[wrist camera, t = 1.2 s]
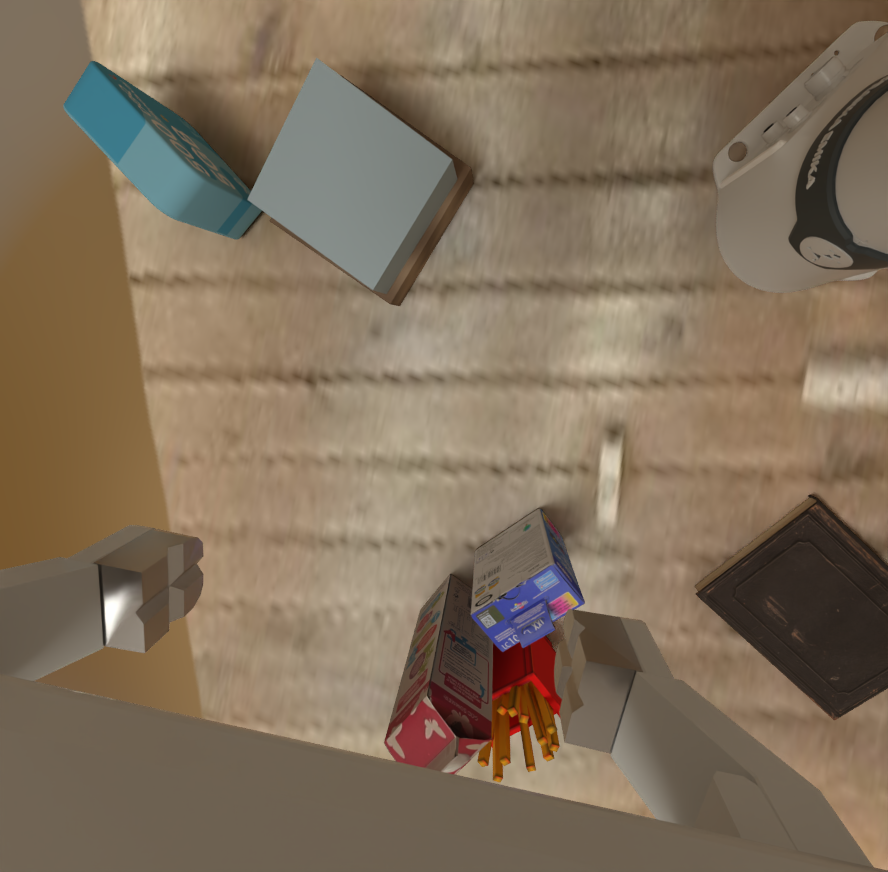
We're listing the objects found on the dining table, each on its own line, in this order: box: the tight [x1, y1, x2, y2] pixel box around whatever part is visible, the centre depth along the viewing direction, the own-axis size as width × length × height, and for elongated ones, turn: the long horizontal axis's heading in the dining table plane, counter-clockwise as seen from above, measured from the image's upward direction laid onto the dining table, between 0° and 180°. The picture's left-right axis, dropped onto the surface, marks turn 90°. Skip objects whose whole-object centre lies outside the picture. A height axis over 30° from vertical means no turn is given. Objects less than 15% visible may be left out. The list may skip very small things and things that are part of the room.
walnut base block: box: [270, 75, 474, 306], centre depth 43 cm, size 14×14×5 cm
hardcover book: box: [695, 495, 888, 720], centre depth 50 cm, size 16×23×2 cm
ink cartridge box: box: [471, 509, 585, 652], centre depth 46 cm, size 10×6×14 cm, turn 129°
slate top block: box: [247, 58, 457, 294], centre depth 39 cm, size 12×13×5 cm
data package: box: [64, 61, 262, 239], centre depth 41 cm, size 12×4×12 cm, turn 43°
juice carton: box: [384, 574, 493, 775], centre depth 45 cm, size 7×7×22 cm
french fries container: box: [478, 635, 562, 782], centre depth 49 cm, size 7×9×14 cm
